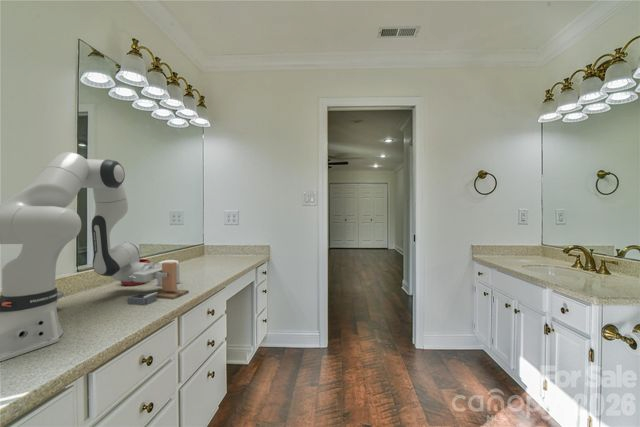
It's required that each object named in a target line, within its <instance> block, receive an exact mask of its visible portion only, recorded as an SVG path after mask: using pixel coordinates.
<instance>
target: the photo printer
mask: <svg viewBox="0 0 640 427" xmlns="http://www.w3.org/2000/svg"><path fill="white" fill-rule="evenodd" d="M164 262H176V263H177V284H179V283H180V281H181V280H180V278H181V277H180V276H181V275H180V263H179V260H176V259H166V260H162V261H159V262H158V263H161V264H162V263H164ZM156 281H157V282H156V283H157V284H156V285H157V286H158V287H162V277H161V278H157V279H156Z"/></svg>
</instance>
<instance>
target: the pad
mask: <svg viewBox="0 0 640 427" xmlns="http://www.w3.org/2000/svg"><path fill="white" fill-rule="evenodd" d="M156 292H157V294H156V298H157V299H165V300H167V299H168V300H176V299H177V298H180V297H182V296H185V295H186V294H189V292H190V291H189V290H188V289H187V290H186V289H175V290H173V291H168V290H162V289H161V290H160V291H156Z"/></svg>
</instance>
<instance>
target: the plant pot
mask: <svg viewBox="0 0 640 427" xmlns="http://www.w3.org/2000/svg"><path fill="white" fill-rule="evenodd" d="M140 263H151V261H150V260H149V259H145V258H144V259H143V258H140ZM120 283H121V284H122V286H137V285H142V284H144V283H142V282H133V281H131V282H124V281H120Z"/></svg>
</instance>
